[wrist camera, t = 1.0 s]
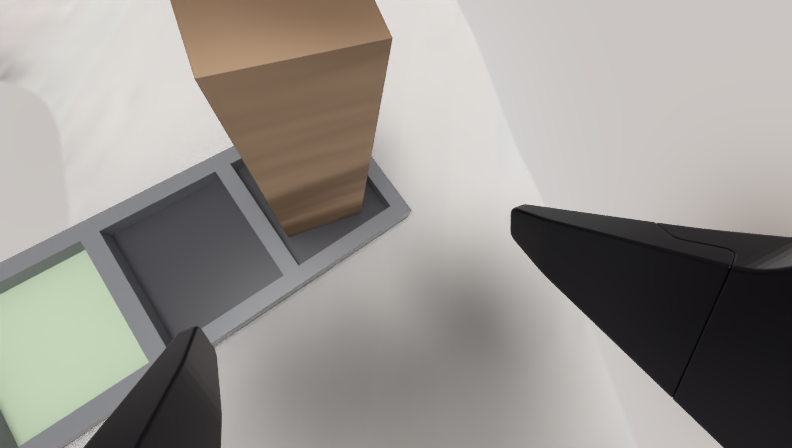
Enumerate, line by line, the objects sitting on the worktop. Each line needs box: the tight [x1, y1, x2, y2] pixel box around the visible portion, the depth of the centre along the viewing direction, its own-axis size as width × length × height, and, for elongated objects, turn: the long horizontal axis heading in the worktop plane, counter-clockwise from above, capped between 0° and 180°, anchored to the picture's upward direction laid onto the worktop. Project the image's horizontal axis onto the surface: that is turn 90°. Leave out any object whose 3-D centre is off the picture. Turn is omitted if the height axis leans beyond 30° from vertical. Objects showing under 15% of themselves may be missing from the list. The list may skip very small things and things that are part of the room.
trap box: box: [0, 146, 411, 448], centre depth 21 cm, size 25×10×2 cm, turn 126°
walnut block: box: [170, 0, 392, 237], centre depth 16 cm, size 5×5×15 cm
